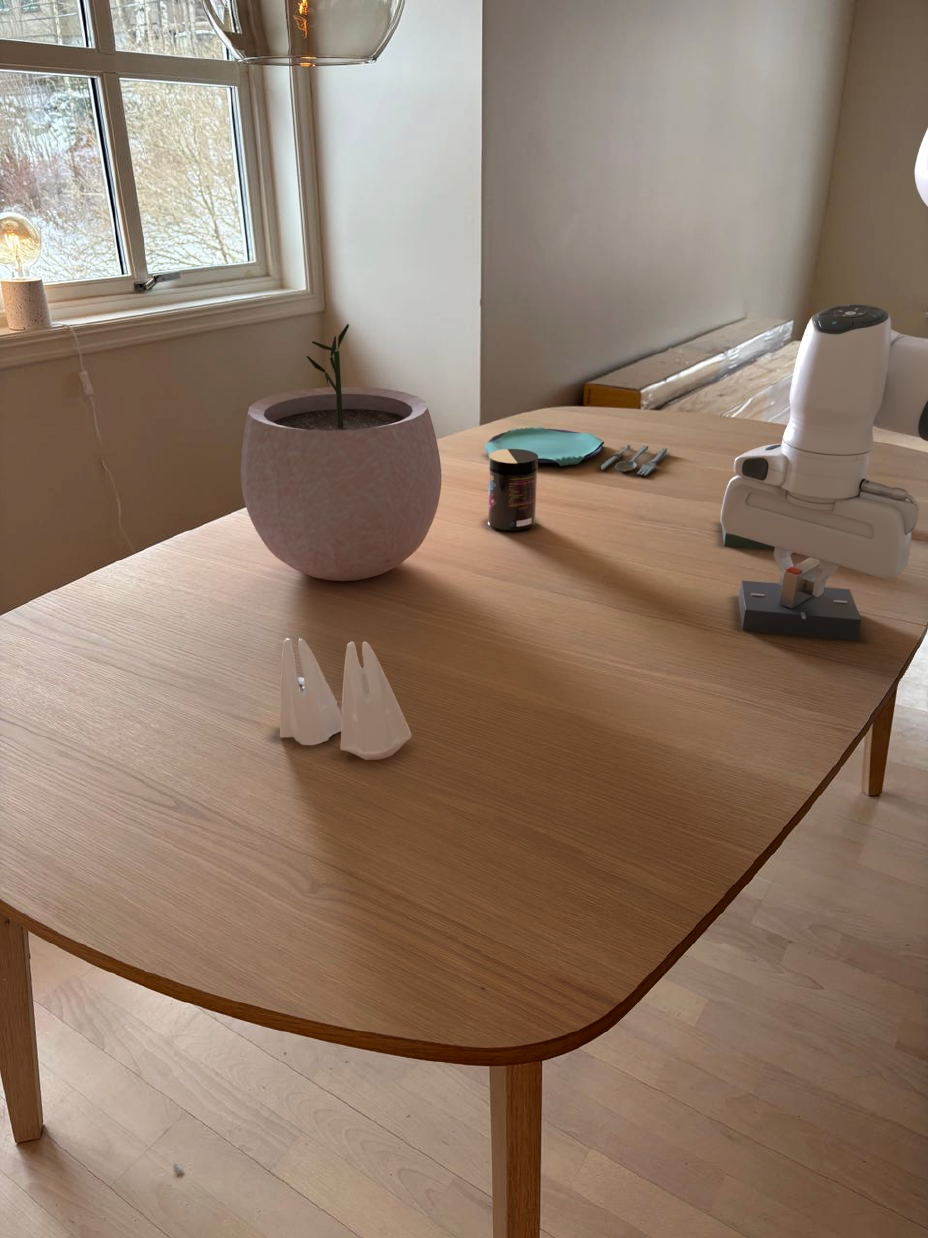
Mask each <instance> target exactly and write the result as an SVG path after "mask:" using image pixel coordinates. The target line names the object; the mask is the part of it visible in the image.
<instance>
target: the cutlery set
mask: <svg viewBox="0 0 928 1238" xmlns="http://www.w3.org/2000/svg"><path fill="white" fill-rule="evenodd" d="M604 445H605V441H604V440H602V439H601V438H599V437H598V436H597V435H594V434H592V433H589V432H578V431H573V430H567V429H558V428H557V429H556V428H545V427H541V426H537V427H536V426H535V427H533V426H531V427H525V428H523V427H521V428H515V429H508V430H507V431H504V432H501V433H499V434H497V435H494V436H492V437H491V438H490V439H489V440H488V441H487V442H486V443H485V446H484V447H485V448H484V449H485V452H486V454H487V455H488V456H489V454H490V453H491V452H494V451H497V450H502V449H522V450H528V451H531V452H534V453H536V454H537V455H538V464H558V465H559V466H560V467H563V466H570V465H571V466H574V465H578V464H579V463H581V461H583V460H588V459H591V458H593V457H594V456H596V455H598V454H600V453H601V451H602V449H604ZM627 450H631V445H630V444H626V446H625V447H623V449H621V450H619V451H616V452H615V453H614V452H613V453H612V456H611V457H610V458H608V459H607V460H605V462H603V463H602V464H601V465H600V469H601V470H602V471H604V470H605V469H607V468H608V467H609V466H610V465H611V464H613V463H614V462H615V461H619V462H618V463H616V464H615V467H614V468H615V469H616V470H617V471H618V472H623V473H628V472H631V471H634V470H635V469H637V463H636V462H635V461H636V460H637V459H638V458H639V457H640V456H641V455H642V454H644V453H645V452H646V451H648V450H649V445H643V446H642V447H640V449H639V450H637V452H636V453H635V455H634V456H633V457H632V458H631V460H624V461H620V458H621V457H622V454H624V453H625V451H627ZM667 450H668V448H666V447H662V449H661V450H660V451H659V452H658V453H657V455H655V457H654V458H652V459H651V460H648V462H643V464H642V465H641V466H640V469H639V470H638V472H637V473H636V475H637V476H638V475H640V476H645V477H646V476H647V475H648V474H650V473H652V472H653V471H654V470H655V469H656V463H658V462H659V461H660V460H661V459H662V458H663V456H665V455H666V454H667V452H668V451H667ZM623 468H629V469H625V470H624V469H623Z"/></svg>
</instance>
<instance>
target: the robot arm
mask: <svg viewBox="0 0 928 1238" xmlns="http://www.w3.org/2000/svg"><path fill="white" fill-rule="evenodd" d="M914 166H915V167H914V181H915V186H916V189H917V192H918V194H919V196H920V199H921V200H922V201H923V203H924V204H925V205H926V206H927V207H928V128H927V129H926V131H925V134H924V136H923V138H922V141H921V144H920V146H919V149H918V153H917V156H916V161H915V165H914ZM791 378H792V379H791V383H790V390H789V406H790V415H789V420H788V424H787V426H786V428H785V430H784V432H783V435H782V440H781V443H775V444H767V445H763V446H759V447H756V448H753V449H751V450H748V451H746V452H744V453H742V454H740V455H739V456H737V457H736V458H735V459H734V463H733V472H734V474H735V476H733V477H732V478H731V479H730V480H729V482H728V483H727V486H726V489H725V493H724V496H723V500H722V505H721V512H720V524H721V527H722V526H723V528H724V530H725V531H726V532H727V533H730V534H734V535H737V536H740V537H744V538H747V539H751V540H754V541H757V542H761V543H764V544H767V545H771V546H774V547H775V549H774V550H773V558H774V560H775V562H776V566H777V568H778V570H779V572H780V575H779V581H778V583H779V585H781V586H782V584H783V578H784V572H785V571H786V570H787V569H788V568H790V567H794V564H793V560H792V557H791V555H793V553H794V554H797V555H800V556H804V557H807V558H810V557H811V558H814V559H817V560H820V562H819V569H821V570H822V573H821V574H820V575H819V576H815V575H813V576H811V578H808V579H807V580H806V584H805V586H806V588H805V590H804V593H806V594H809V595H812V596H815V597H819V596H820V595H822V594H823V592H824V588H825V587H826V582H827V580H828V579H829V578H830V577H831V576H832V575H833V574H834V573H835V572H836V571H837V570H838V569H839V568H840V567H841V568H844V569H848V570H851V571H854V572H857V573H861V574H865V575H868V576H871V577H875V578H878V579H882V580H885V581H887V580H889V579H892V578H894V577H895V576H897V575H899V574H900V573H901V572H903V571H904V570H905V569H906V568H907V566H908V565H909V564H908V563H909V561H910V555H911V554H910V553H911V546H912V532H913V530H914V529H915V528H916V525H917V522H918V517H919V514H920V505H919V503H918V501H917V500H916V498H915V497H914V496H913V495H911V494H909V491H908V490H906V489H904V488H902V487H898V486H897V487H896V486H894V487H893V486H889V485H886V484H883V483H880V482H877V481H873V480H867V478H868V474H869V468H870V464H871V459H872V453H873V449H874V441H875V440H874V434H873V433H874V431H873V430H874V427H876V428H877V429H880V430H885V431H888V432H892V433H898V434H901V435H906V436H910V437H911V436H912V437H914V438H915V437H916V438H920V439H921V440H923V441H925V442H928V338H924V337H918V336H912V335H909V334H903V333H900V332H898V331H896V330H894V329H892V319H891V315H890V314H889V313H888V312H887V310H884V309H883V308H880V307H877V306H873V305H870V304H869V305H868V304H857V303H853V304H852V303H851V304H845V305H844V304H843V305H835V306H830V307H827V308H824V309H822V310H820V311H818V312H816V313H815V314H813V315H812V316H811V318H810V319H809V321H808V323H807V325H806V328H805V330H804V333H803V335H802V339H801V341H800V344H799V347H798V352H797V356H796V358H795V363H794V368H793V373H792V377H791Z"/></svg>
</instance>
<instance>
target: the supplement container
mask: <svg viewBox="0 0 928 1238" xmlns="http://www.w3.org/2000/svg"><path fill="white" fill-rule="evenodd" d="M538 464H539V463H538V455H537V454H536V453H534V452H531V451H528V450H522V449H502V450H497V451H494V452H491V453H490V454H489V455H488V466H487V467H488V494H487V495H488V496H487V499H488V501H487V502H488V503H487V524H488V527H489V528H491V529H492V530H494V531H497V532H500V533H508V534H509V533H510V534H517V533H519V534H520V533H524V532H528V531H531V530H533V528H535V525H536V513H537V510H536V509H537V487H538V485H537V484H538V469H539V465H538Z"/></svg>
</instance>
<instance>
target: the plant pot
mask: <svg viewBox="0 0 928 1238" xmlns="http://www.w3.org/2000/svg"><path fill="white" fill-rule="evenodd" d="M349 328H350V325H349V323H347V324H346V325H345V327H344V328H343V329H342V331H341V332H340V334H339V335H338V337H337V335H335V336H334V338H333V341H332V344H331V346H327V345H325V344H322V343H320V342H317V341H314V340H313V341H311V343H312V344H313V345H315V346H317V347H319V348H321V349H323V350H326V351H330V355H329V356H330V357H329V360H330V365H331V369H332V371H333V372H334V382H333V380H332V378H331V377H330V375H329V374H328V372H326V369H324V367H322V366H321V365H319V364H318V363H317V362H316V361H315V360H313V359H312V358H311V357H310V356H309V355H305V356H306V358H307V360H308V361H309V362H310V364H312V366H313V367H314V369H316V370H318V371H320V372H322V373H324V376H325V379H326V383H327V386H325V387H324V386H323V387H315V388H313V387H312V388H303V389H297V390H291V391H284V392H280V393H276V394H273V395H269V396H266V397H264V398H261V399H259V400H256V401H255V402H254V403H252V404H251V405H250V406H249V407H248V410H247V415H246V420H245V426H244V431H243V436H242V437H243V438H242V447H241V457H240V458H241V459H240V485H241V491H242V492H241V493H242V496H243V501H244V505H245V508H246V512H247V514H248V516H249V519H250V521H251V523H252V525H253V527H254V529H255V531H256V532H257V534H258V536H259V537H260V539H261V541H262V542H263V544H264V545H265V547H266V548H267V549H268V551H270V553H271V554H273V556H274V557H276V558H277V559H278V560H279V561H281V562H282V563H284V564H285V565H287V566H288V567H290V568H291V569H293V570H295V571H297V572H299V573H301V574H304V575H307V576H310V577H313V578H316V579H319V580H324V581H325V580H326V581H336V582H350V581H351V582H352V581H353V582H354V581H359V580H365V579H369V578H373V577H376V576H380V575H383V574H384V573H387V572H388V571H391V570H392V569H395V568H397V567H398V566H399V565H401V564H402V563H403V562H405V561H407V559H408V558H410V557H411V556H412V555H413V554H414V553H416V551H417V550H418V549H419V548H420V547H421V545H422V544H423V542H424V541H425V539H426V537H427V535H428V533H429V531H430V528H431V526H432V524H433V522H434V519H435V517H436V514H437V510H438V507H439V502H440V497H441V491H442V466H441V465H442V464H441V457H440V451H439V445H438V440H437V436H436V432H435V429H434V424H433V421H432V417H431V414H430V409H429V407H428V405H427V402H426V401H425V400H423V399H422V398H421V397H419V396H418V395H414V394H410V393H408V392H404V391H399V390H394V389H388V388H381V387H380V388H378V387H369V386H368V387H367V386H342V377H341V361H340V360H341V359H340V358H341V357H340V350H339V348H340V345H341V344H342V342H343V340H344V338H345V335H346V334H347V331H348V329H349ZM329 384H330V385H329Z"/></svg>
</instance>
